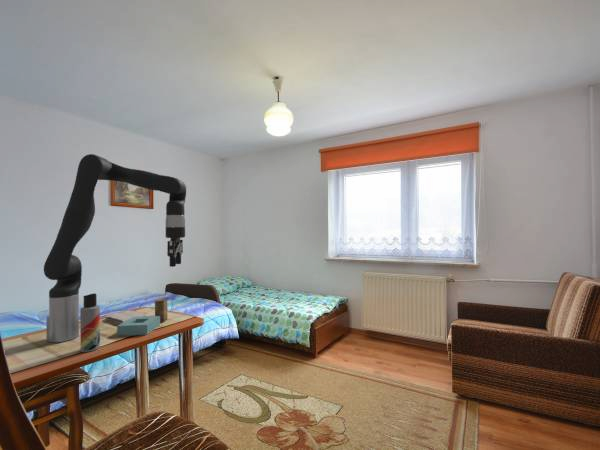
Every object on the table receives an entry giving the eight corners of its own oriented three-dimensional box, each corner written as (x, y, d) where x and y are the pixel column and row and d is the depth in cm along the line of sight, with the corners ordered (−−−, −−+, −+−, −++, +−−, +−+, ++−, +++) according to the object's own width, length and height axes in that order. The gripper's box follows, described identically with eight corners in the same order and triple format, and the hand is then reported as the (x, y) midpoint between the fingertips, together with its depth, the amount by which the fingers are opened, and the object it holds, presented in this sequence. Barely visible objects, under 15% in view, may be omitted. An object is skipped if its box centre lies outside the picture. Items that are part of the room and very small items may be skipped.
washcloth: (128, 314, 150) (128, 308, 150) (148, 319, 140) (148, 313, 140) (103, 320, 139) (103, 314, 139) (123, 326, 130) (123, 319, 130)
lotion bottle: (89, 352, 101) (89, 295, 101) (76, 351, 102) (76, 295, 102) (103, 346, 107) (103, 292, 107) (91, 345, 108) (90, 291, 108)
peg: (155, 322, 134) (154, 300, 134) (158, 319, 138) (158, 298, 138) (163, 322, 134) (163, 300, 134) (167, 319, 138) (167, 298, 138)
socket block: (117, 335, 117) (117, 325, 117) (132, 325, 129) (132, 317, 129) (147, 334, 118) (147, 324, 118) (160, 324, 130) (160, 316, 130)
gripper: (170, 226, 127) (170, 263, 126) (160, 226, 112) (160, 267, 112) (188, 226, 128) (188, 263, 127) (180, 226, 114) (180, 267, 113)
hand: (175, 265), depth 120 cm, fingers open, 8 cm apart
